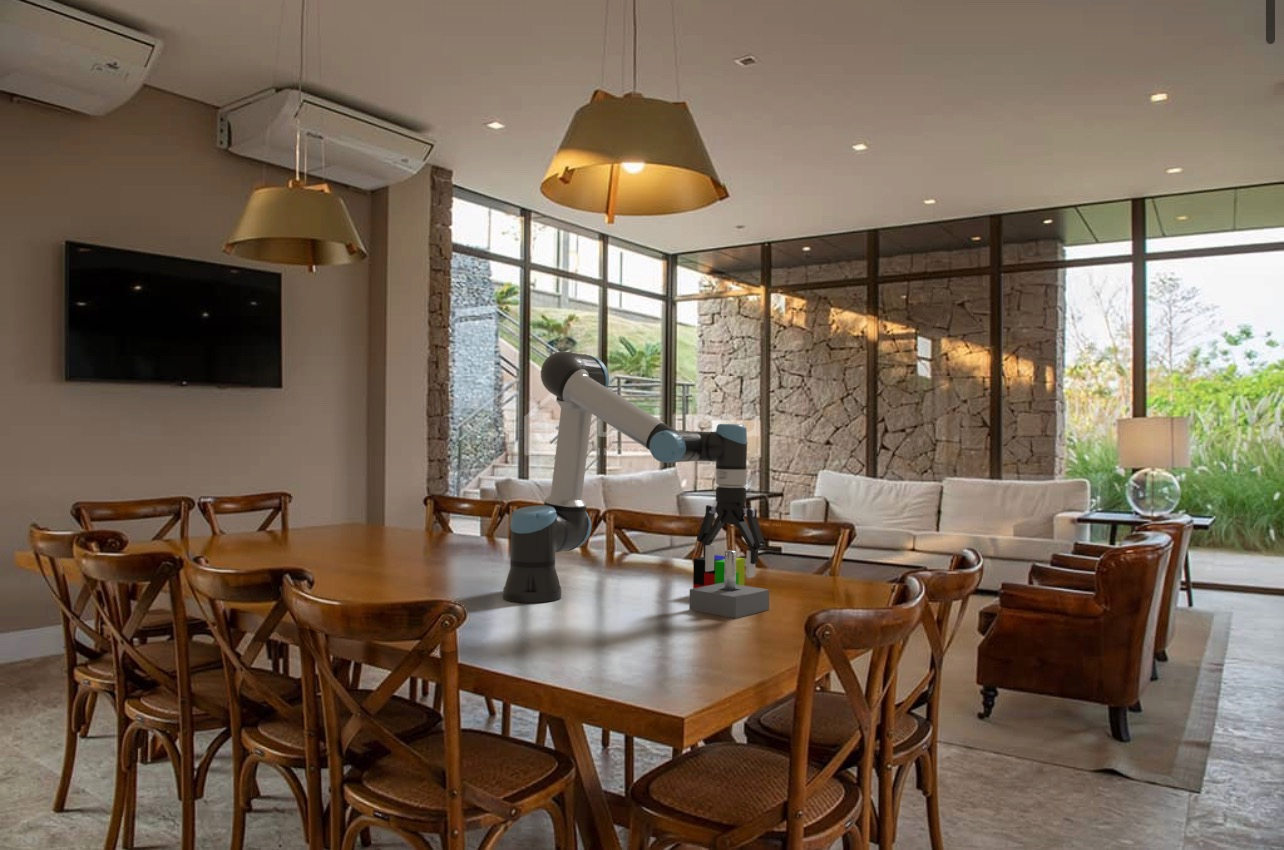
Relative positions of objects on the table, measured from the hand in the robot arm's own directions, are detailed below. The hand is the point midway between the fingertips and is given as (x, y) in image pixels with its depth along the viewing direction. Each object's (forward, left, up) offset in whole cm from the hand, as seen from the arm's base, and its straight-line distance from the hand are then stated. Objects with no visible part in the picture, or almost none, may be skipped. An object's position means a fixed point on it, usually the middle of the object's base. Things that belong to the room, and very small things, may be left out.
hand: (729, 574), depth 214 cm
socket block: (0, 0, -9) cm, 9 cm away
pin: (0, 0, -7) cm, 7 cm away
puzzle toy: (-13, +13, -9) cm, 21 cm away
